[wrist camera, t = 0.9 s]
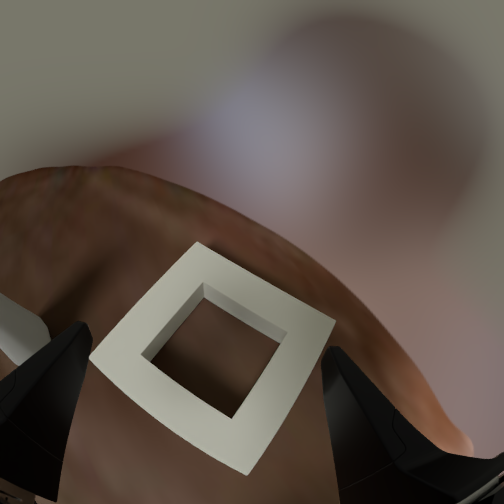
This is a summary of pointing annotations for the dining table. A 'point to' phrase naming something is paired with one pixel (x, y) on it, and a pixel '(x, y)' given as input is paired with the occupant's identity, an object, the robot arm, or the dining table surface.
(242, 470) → the grey block
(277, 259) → the dining table surface
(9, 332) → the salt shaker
